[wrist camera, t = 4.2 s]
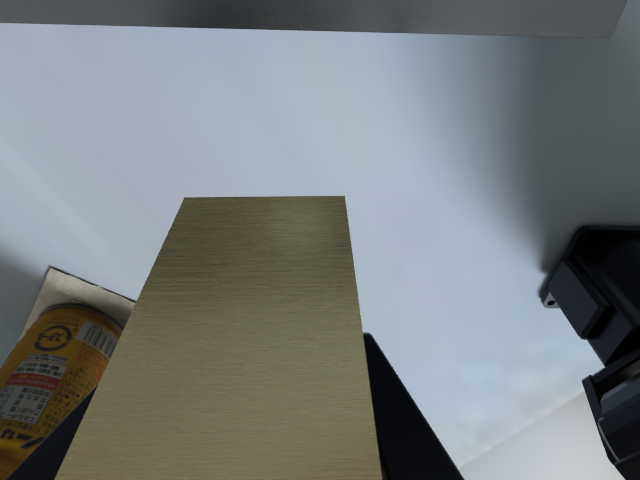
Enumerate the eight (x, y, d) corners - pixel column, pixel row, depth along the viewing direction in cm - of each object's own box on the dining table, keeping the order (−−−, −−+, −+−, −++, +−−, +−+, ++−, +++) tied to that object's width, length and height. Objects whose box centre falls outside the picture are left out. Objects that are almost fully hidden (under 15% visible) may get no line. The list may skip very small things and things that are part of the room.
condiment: (19, 338, 29) (-124, 539, 19) (51, 265, 25) (-111, 476, 15) (120, 372, 32) (38, 563, 22) (164, 312, 27) (87, 515, 18)
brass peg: (344, 195, 10) (428, 833, 3) (339, 305, 13) (379, 798, 5) (184, 197, 10) (-118, 854, 3) (210, 307, 12) (81, 809, 5)
